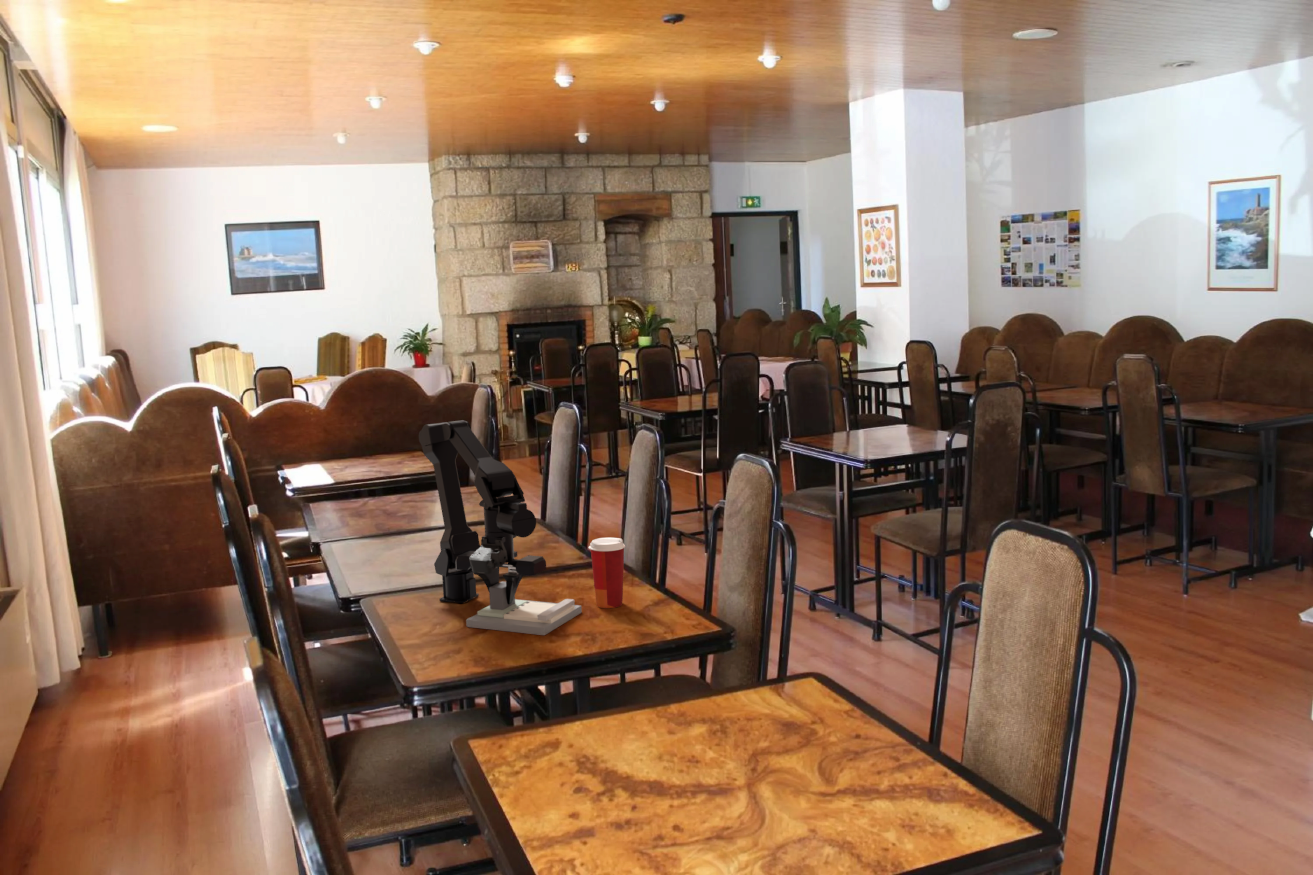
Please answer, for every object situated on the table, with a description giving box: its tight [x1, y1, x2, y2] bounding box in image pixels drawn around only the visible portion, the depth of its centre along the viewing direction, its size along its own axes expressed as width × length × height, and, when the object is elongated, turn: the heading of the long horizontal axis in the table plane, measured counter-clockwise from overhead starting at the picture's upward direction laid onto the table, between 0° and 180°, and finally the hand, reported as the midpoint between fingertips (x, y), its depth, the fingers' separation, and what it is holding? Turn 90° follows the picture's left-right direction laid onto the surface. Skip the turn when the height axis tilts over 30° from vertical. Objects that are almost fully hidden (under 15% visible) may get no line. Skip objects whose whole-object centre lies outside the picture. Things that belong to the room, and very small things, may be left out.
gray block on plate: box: [476, 580, 527, 618], centre depth 230 cm, size 6×10×5 cm, turn 157°
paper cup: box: [588, 536, 626, 609], centre depth 236 cm, size 8×8×14 cm
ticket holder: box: [465, 598, 582, 636], centre depth 228 cm, size 18×16×3 cm
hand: (502, 603), depth 230 cm, fingers closed on gray block on plate, 3 cm apart
